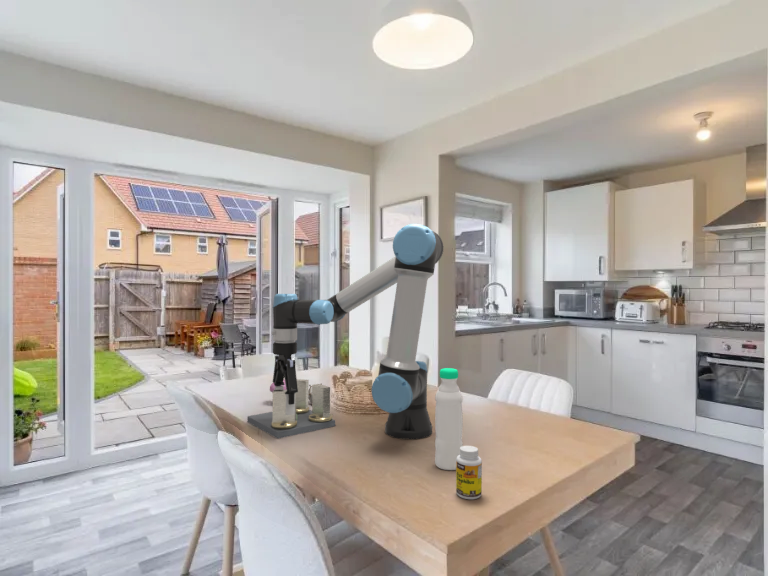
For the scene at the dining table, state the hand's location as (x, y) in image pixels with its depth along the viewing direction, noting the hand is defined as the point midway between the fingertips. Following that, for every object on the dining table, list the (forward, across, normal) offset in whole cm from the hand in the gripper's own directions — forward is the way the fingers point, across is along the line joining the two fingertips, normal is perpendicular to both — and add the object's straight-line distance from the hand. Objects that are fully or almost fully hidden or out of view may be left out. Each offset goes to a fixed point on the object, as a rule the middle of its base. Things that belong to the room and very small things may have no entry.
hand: (284, 410), depth 142 cm
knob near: (+5, 0, 0) cm, 5 cm away
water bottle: (+7, +48, +29) cm, 56 cm away
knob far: (+5, -15, +10) cm, 18 cm away
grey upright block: (+5, -1, +13) cm, 14 cm away
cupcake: (+7, -36, +10) cm, 38 cm away
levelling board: (+7, -8, +5) cm, 12 cm away
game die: (+7, -29, +22) cm, 37 cm away
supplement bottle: (+7, +63, +22) cm, 67 cm away
